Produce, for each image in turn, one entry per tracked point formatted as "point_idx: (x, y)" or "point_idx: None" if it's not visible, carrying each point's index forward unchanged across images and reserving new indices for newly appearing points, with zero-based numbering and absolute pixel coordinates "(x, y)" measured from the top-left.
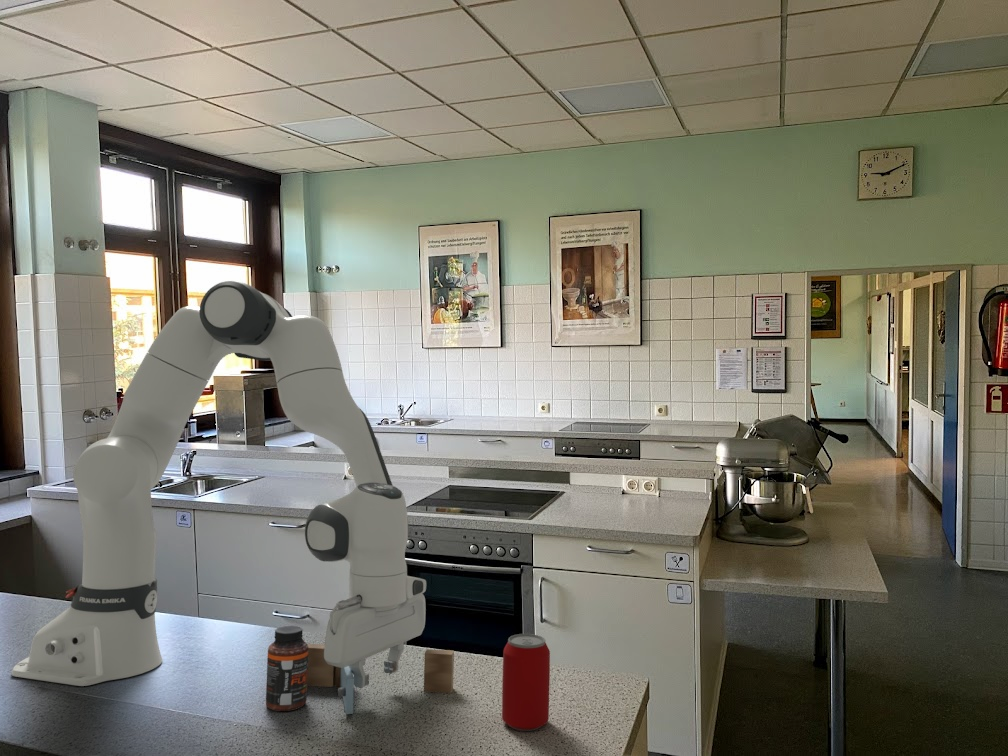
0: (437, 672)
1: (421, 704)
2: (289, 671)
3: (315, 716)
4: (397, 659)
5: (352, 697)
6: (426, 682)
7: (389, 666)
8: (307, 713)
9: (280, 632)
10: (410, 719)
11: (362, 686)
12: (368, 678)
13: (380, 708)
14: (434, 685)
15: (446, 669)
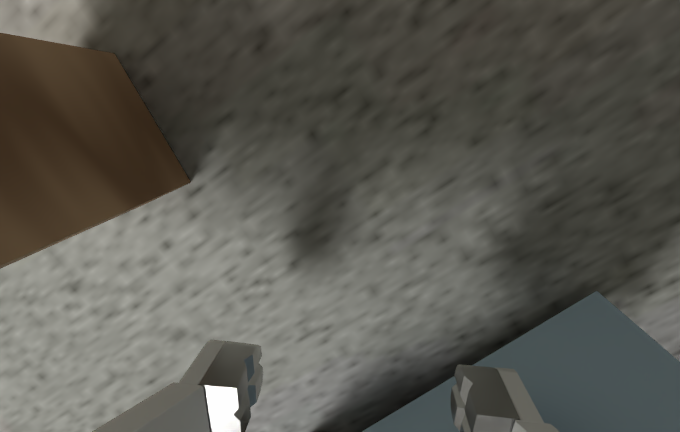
0: (72, 131)
1: (313, 101)
2: None
3: None
4: (185, 392)
5: (656, 344)
6: (157, 180)
7: (247, 387)
8: None
9: None
10: (507, 30)
11: (516, 372)
12: (476, 392)
13: (448, 238)
14: (142, 139)
15: (6, 68)
